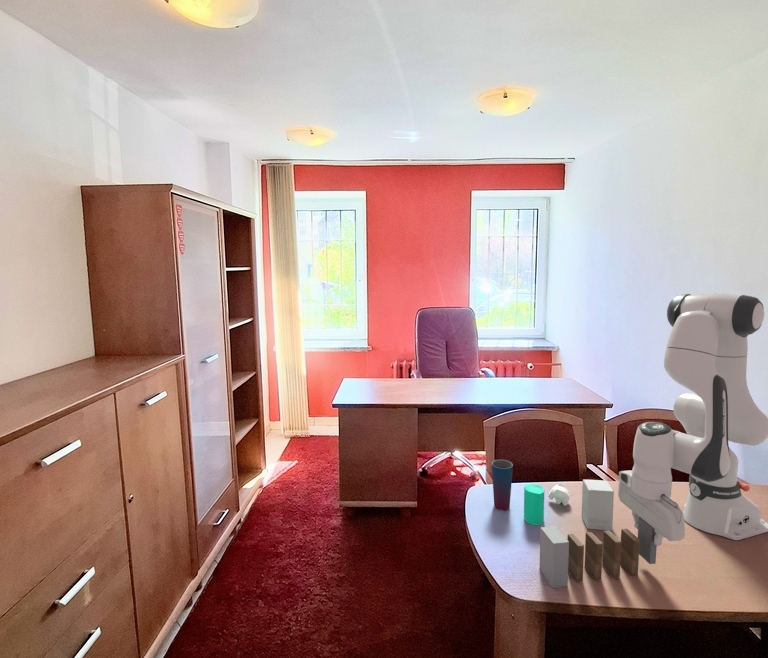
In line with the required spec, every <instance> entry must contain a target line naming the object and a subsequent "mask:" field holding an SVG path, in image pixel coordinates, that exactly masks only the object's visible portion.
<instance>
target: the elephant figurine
mask: <svg viewBox="0 0 768 658" xmlns="http://www.w3.org/2000/svg"><path fill="white" fill-rule="evenodd" d="M572 496H573V494H572V495H571V494H570V491H569V490H568V489H567V488H566V487H565V486H564V484H563V483H561V482H558V483H556V484H555V485H554V486H553V487H551V490H549V492H548V496H547V497H548V498H549V499H550V500H555V503H556V505H561V504H562V506H564V507H566V506H567V505H568V504H569V501H570V498H571V497H572Z"/></svg>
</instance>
